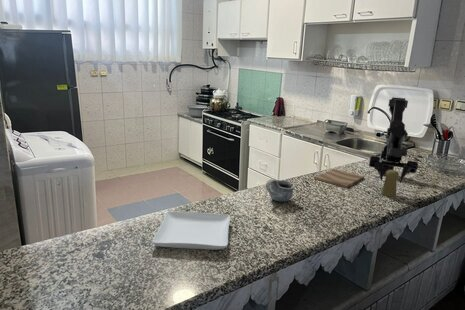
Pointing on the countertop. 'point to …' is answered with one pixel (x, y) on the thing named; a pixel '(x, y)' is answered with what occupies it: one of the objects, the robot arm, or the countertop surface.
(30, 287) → the countertop surface
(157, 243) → the salad plate
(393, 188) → the cork
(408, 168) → the robot arm
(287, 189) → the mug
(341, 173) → the walnut board
